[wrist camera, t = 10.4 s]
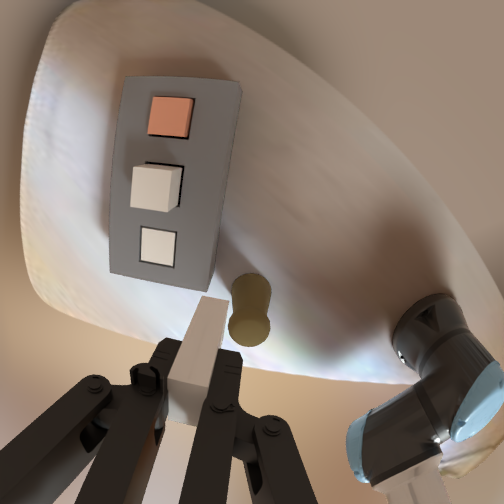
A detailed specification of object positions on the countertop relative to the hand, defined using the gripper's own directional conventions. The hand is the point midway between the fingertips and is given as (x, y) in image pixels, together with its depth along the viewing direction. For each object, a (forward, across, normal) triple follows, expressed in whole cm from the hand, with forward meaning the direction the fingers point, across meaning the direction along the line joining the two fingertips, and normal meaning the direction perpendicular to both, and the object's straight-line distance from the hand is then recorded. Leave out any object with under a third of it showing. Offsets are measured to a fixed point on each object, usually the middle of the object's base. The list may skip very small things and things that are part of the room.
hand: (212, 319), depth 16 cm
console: (+25, +10, -4) cm, 27 cm away
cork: (+26, -3, +11) cm, 28 cm away
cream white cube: (+19, +10, -4) cm, 22 cm away
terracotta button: (+22, +10, -12) cm, 27 cm away
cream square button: (+23, +10, +4) cm, 26 cm away
